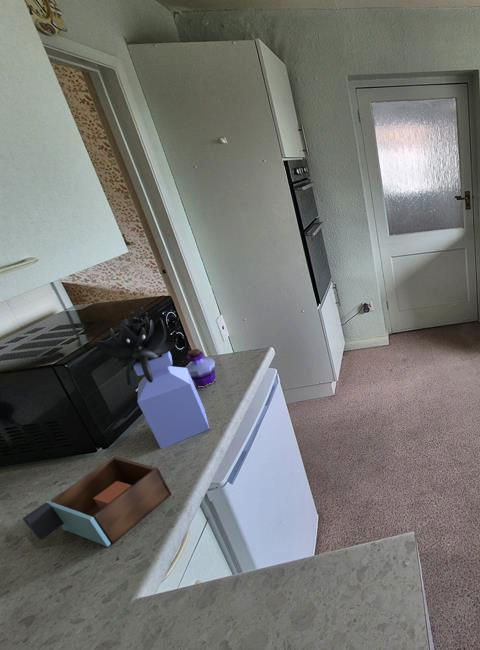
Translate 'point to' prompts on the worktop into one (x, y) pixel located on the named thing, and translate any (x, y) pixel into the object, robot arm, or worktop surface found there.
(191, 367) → the potion bottle
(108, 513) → the crate
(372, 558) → the worktop surface
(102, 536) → the light blue flat panel
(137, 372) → the vase
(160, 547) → the worktop surface
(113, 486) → the block
